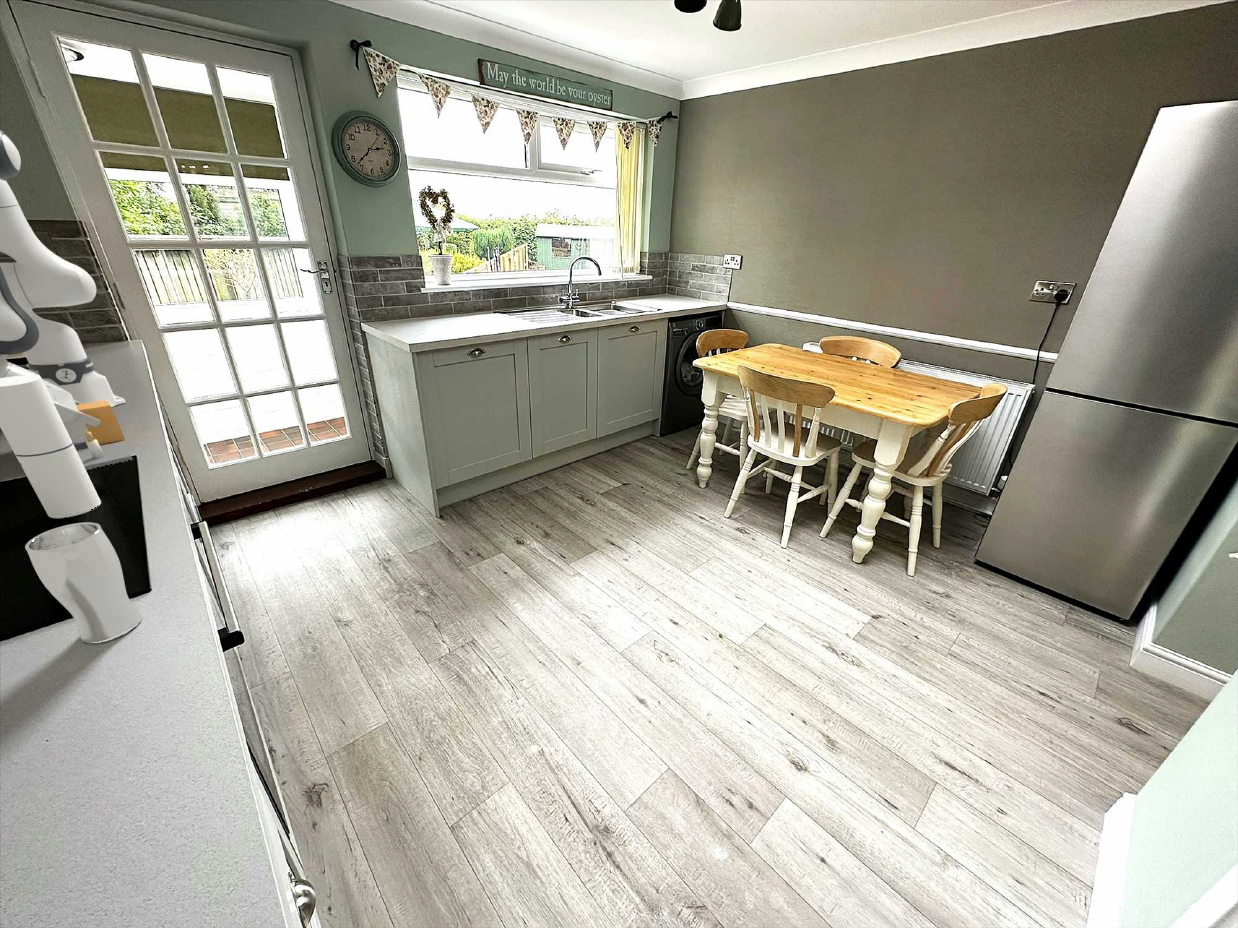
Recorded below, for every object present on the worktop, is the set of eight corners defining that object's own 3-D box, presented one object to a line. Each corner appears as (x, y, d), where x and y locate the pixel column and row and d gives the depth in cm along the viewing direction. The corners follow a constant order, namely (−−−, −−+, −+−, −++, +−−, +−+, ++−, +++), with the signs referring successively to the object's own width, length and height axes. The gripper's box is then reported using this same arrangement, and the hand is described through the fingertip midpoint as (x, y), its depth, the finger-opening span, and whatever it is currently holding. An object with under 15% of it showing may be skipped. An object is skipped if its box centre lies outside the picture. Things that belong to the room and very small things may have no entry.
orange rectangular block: (92, 439, 123) (76, 405, 119) (121, 433, 127) (107, 400, 123) (95, 445, 120) (79, 410, 116) (125, 439, 124) (110, 405, 120)
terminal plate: (65, 457, 114) (63, 453, 113) (124, 445, 121) (122, 441, 120) (71, 473, 107) (69, 469, 106) (133, 459, 114) (131, 455, 113)
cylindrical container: (67, 520, 91) (-2, 388, 80) (37, 515, 92) (-35, 385, 81) (111, 501, 97) (52, 377, 86) (82, 497, 98) (20, 374, 87)
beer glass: (76, 626, 68) (24, 534, 61) (144, 603, 72) (101, 515, 66) (77, 655, 63) (20, 560, 57) (149, 628, 68) (103, 537, 61)
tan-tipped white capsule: (92, 457, 112) (81, 432, 109) (103, 454, 113) (92, 430, 111) (93, 459, 111) (82, 434, 108) (104, 457, 112) (93, 432, 110)
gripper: (28, 385, 104) (111, 418, 115) (24, 367, 116) (99, 398, 127) (7, 410, 103) (92, 441, 114) (5, 389, 115) (82, 419, 126)
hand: (96, 418), depth 120 cm, fingers open, 8 cm apart
